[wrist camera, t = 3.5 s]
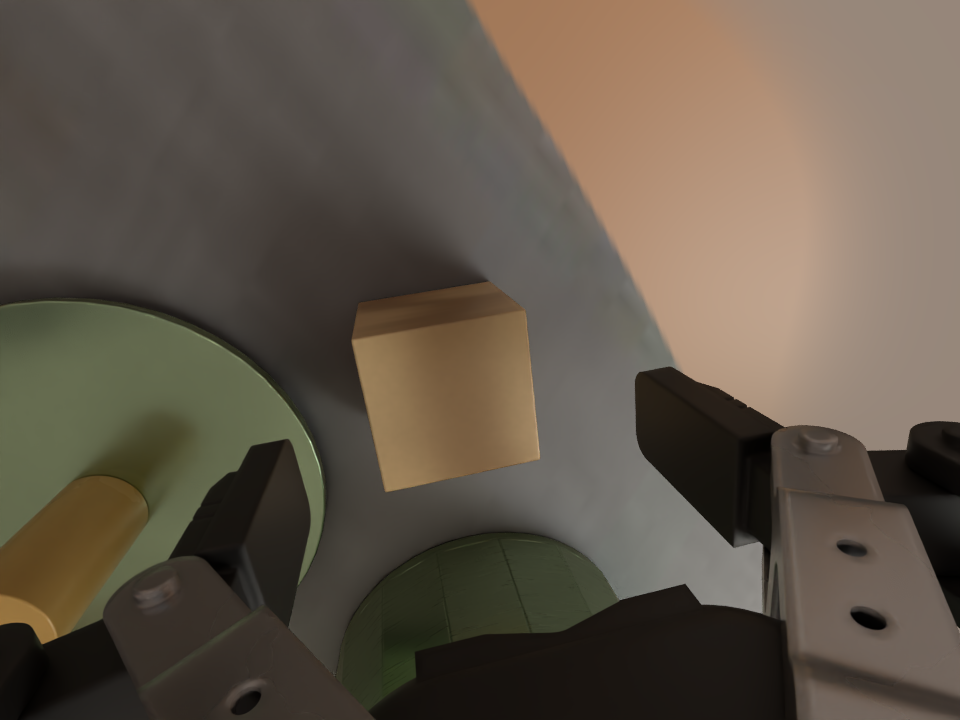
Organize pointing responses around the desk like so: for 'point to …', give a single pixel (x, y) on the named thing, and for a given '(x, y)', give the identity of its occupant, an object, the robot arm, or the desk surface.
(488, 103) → the desk surface
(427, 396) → the block
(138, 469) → the lid
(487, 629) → the canister
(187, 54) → the desk surface
